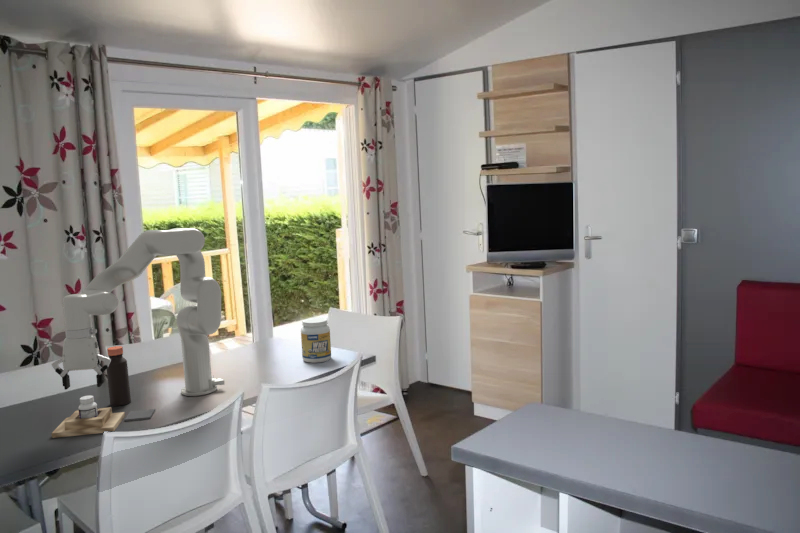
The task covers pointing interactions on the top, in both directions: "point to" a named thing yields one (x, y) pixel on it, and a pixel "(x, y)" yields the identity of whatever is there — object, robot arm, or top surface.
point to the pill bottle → (87, 407)
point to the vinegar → (118, 377)
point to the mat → (139, 415)
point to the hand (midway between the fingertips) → (83, 387)
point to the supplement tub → (315, 340)
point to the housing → (89, 423)
